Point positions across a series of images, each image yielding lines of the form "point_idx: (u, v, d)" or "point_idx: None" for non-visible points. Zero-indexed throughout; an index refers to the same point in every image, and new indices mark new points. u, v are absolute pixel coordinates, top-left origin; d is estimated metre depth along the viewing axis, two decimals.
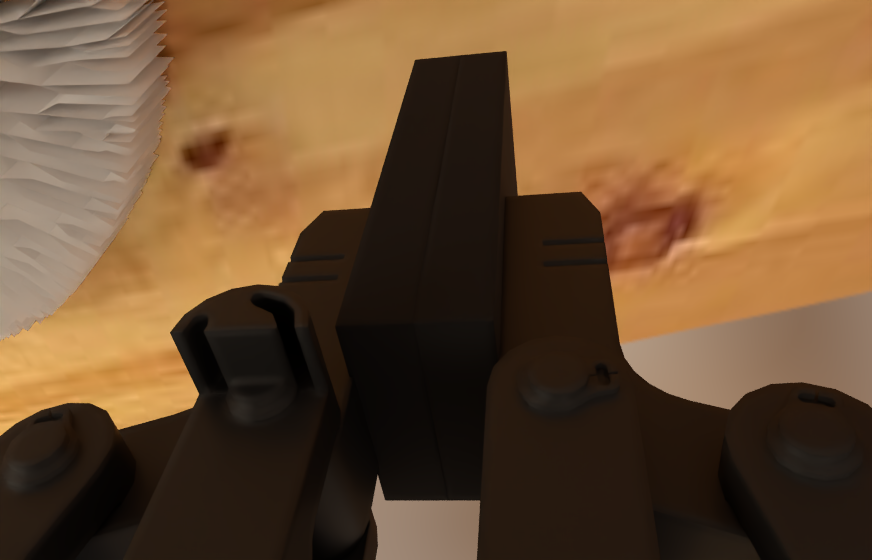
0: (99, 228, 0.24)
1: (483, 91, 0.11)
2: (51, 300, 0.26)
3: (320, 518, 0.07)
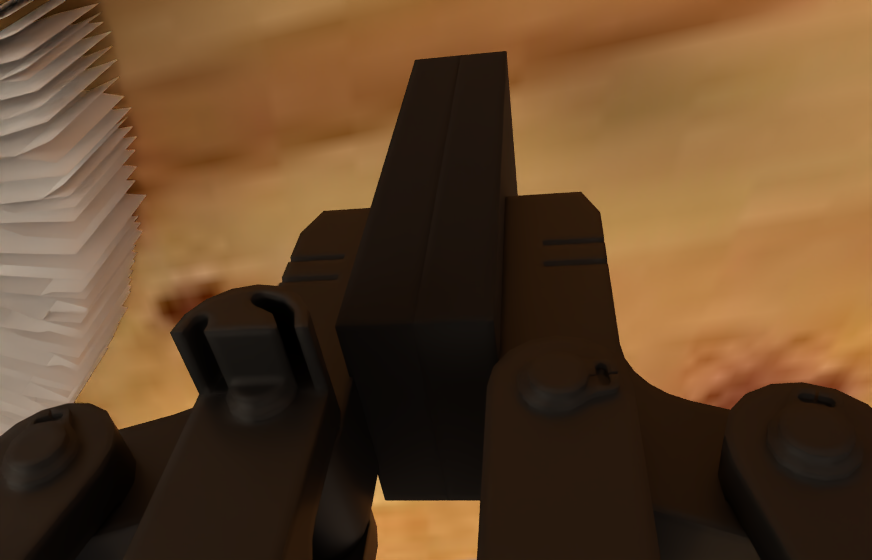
0: None
1: (483, 92, 0.11)
2: None
3: (320, 518, 0.07)
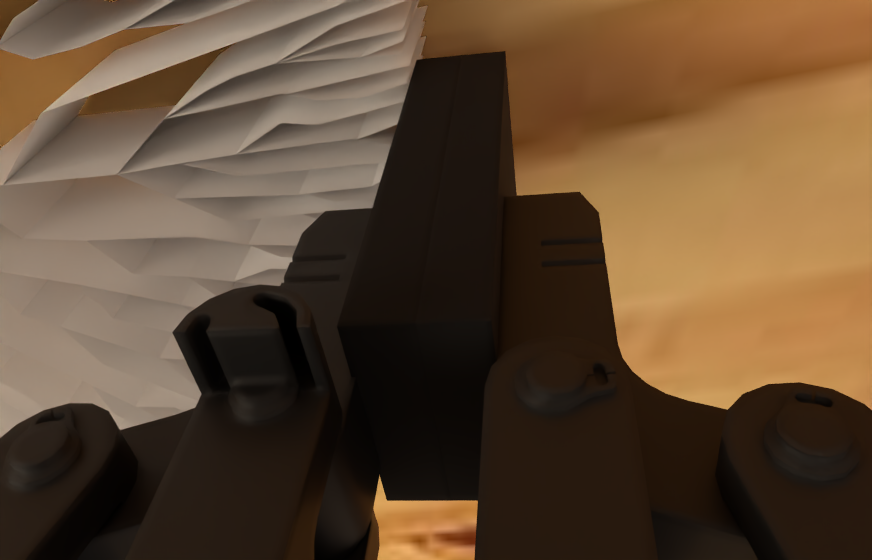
0: None
1: (482, 91, 0.11)
2: None
3: (322, 518, 0.07)
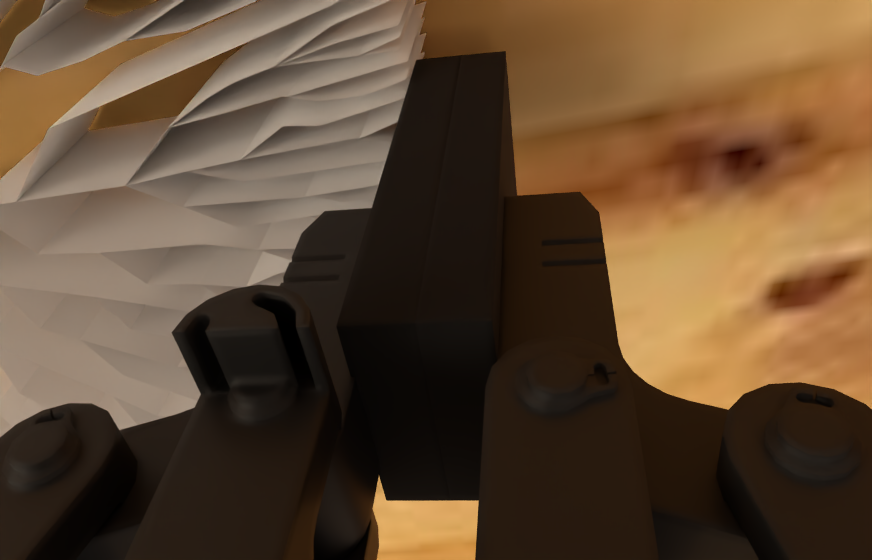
0: None
1: (482, 92, 0.11)
2: None
3: (321, 518, 0.07)
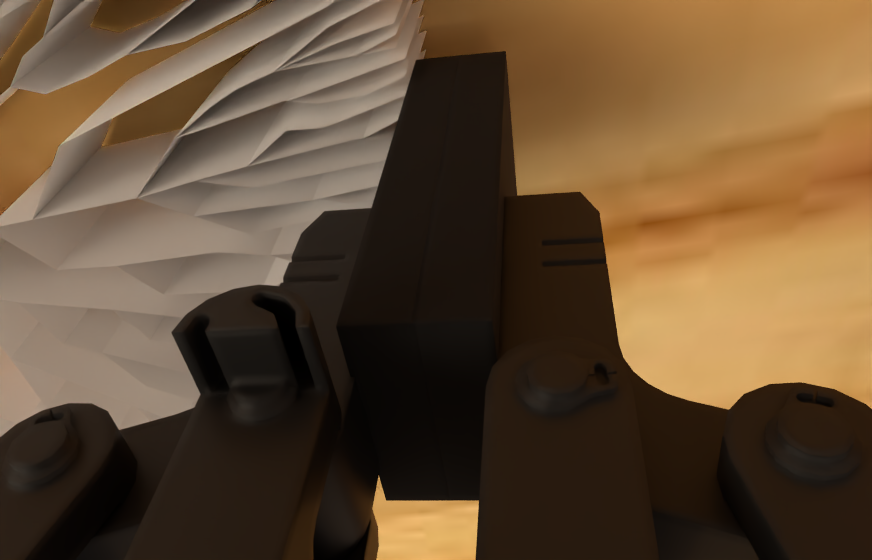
0: None
1: (482, 91, 0.11)
2: None
3: (321, 518, 0.07)
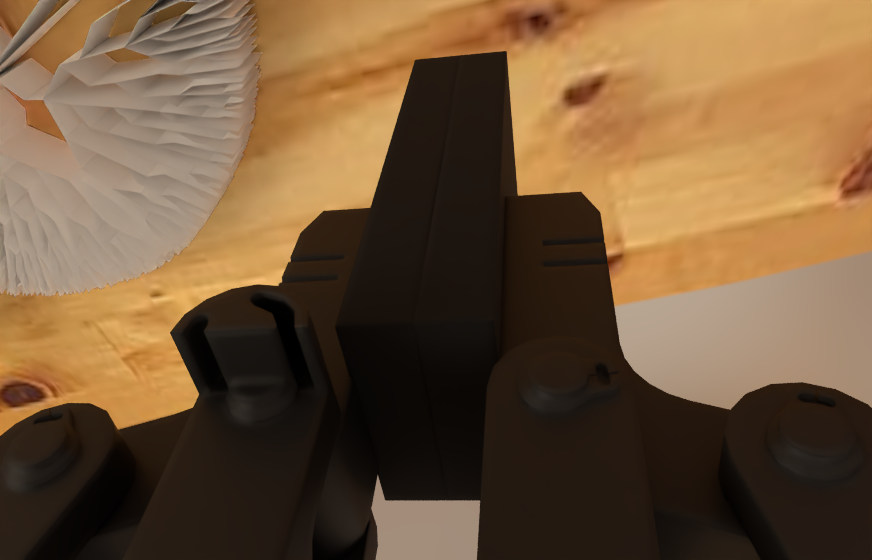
0: (219, 176, 0.34)
1: (483, 91, 0.11)
2: (186, 236, 0.36)
3: (320, 518, 0.07)
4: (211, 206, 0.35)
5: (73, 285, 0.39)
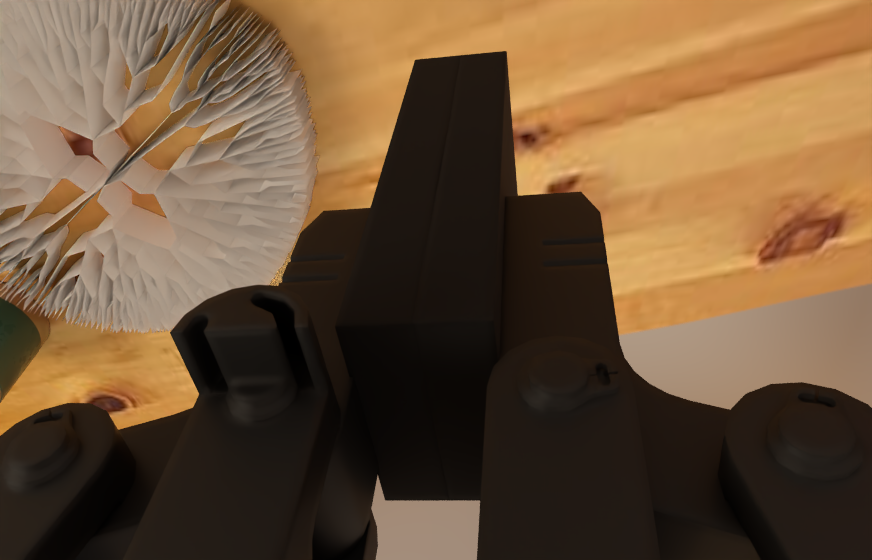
0: (284, 247, 0.45)
1: (483, 91, 0.11)
2: None
3: (320, 518, 0.07)
4: (277, 269, 0.46)
5: (164, 325, 0.50)
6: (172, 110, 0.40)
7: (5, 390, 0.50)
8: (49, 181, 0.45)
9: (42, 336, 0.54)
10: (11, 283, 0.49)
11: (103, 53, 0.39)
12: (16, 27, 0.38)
